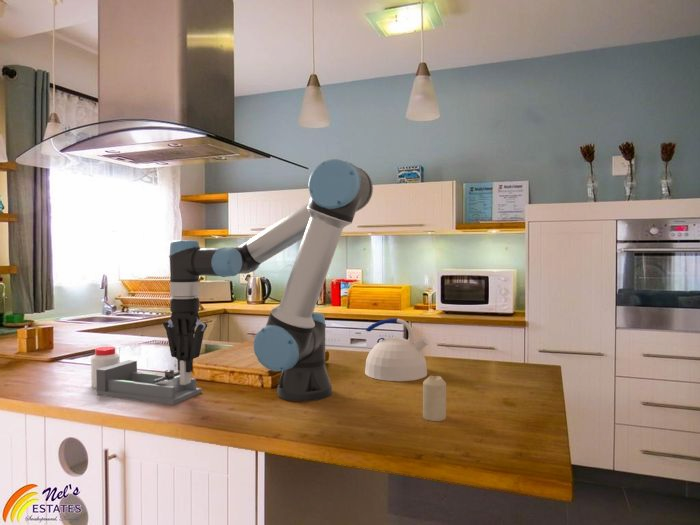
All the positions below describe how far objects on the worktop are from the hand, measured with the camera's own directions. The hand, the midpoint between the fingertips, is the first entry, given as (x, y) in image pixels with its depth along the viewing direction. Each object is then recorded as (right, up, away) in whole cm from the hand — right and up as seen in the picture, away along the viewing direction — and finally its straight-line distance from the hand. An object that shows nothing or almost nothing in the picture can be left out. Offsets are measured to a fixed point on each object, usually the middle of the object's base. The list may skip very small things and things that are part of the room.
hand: (185, 383), depth 140 cm
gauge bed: (-12, -4, +4) cm, 13 cm away
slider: (-5, -3, +2) cm, 6 cm away
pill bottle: (-28, -4, +14) cm, 32 cm away
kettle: (+60, -3, +27) cm, 66 cm away
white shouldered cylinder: (+65, -5, -16) cm, 67 cm away
